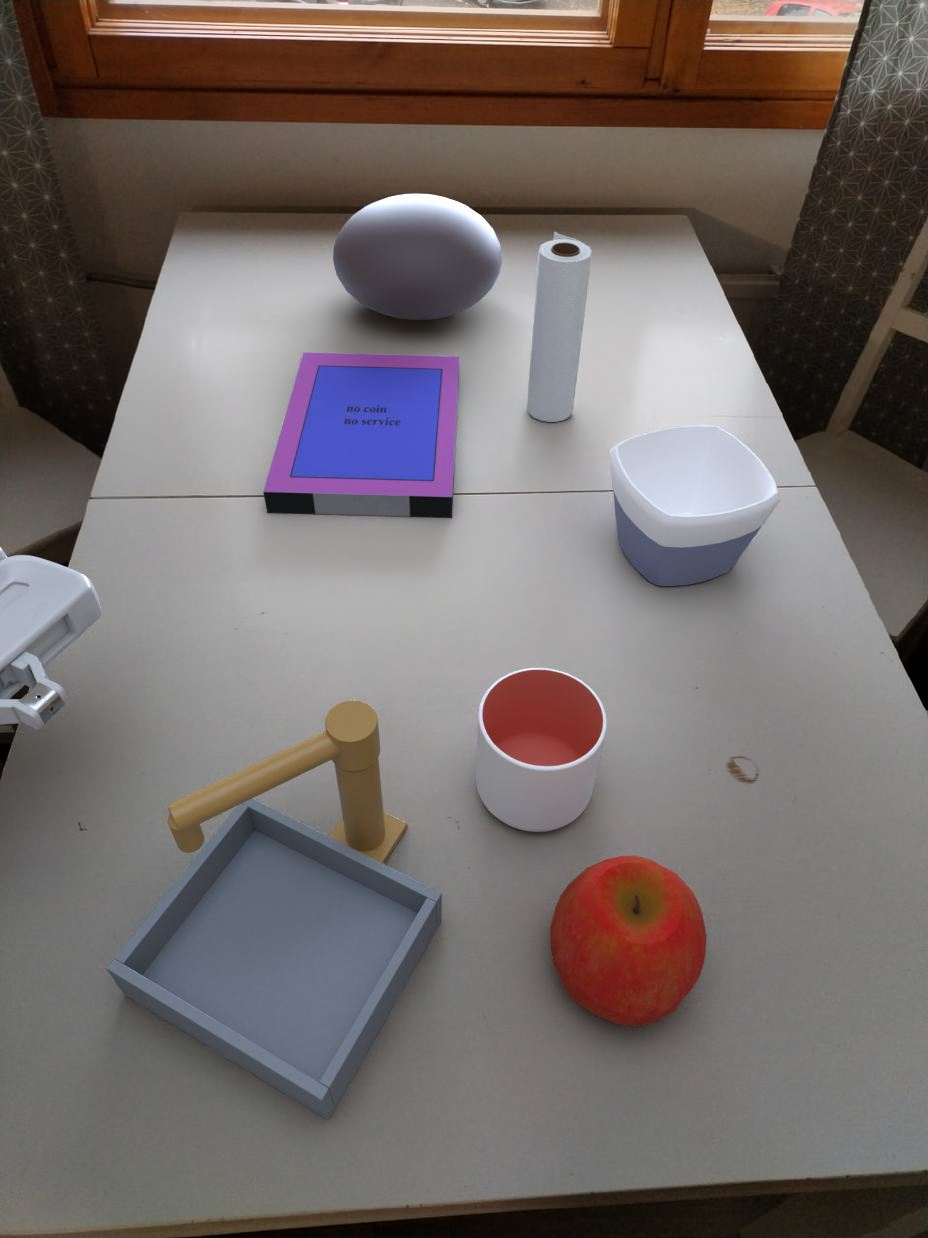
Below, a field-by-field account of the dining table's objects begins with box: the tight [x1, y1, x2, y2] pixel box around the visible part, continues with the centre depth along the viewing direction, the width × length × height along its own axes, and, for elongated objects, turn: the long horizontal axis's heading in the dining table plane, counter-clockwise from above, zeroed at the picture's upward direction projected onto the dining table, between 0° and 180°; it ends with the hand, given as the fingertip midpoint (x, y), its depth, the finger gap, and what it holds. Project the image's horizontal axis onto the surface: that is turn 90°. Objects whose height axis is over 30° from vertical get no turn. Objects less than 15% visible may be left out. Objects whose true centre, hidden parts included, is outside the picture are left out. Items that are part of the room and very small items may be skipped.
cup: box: [475, 667, 608, 833], centre depth 73 cm, size 10×10×10 cm
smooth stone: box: [332, 193, 503, 321], centre depth 130 cm, size 25×25×15 cm
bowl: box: [608, 424, 781, 587], centre depth 94 cm, size 15×15×11 cm
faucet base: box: [329, 757, 408, 865], centre depth 68 cm, size 5×5×12 cm
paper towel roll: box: [526, 231, 593, 423], centre depth 109 cm, size 7×6×21 cm
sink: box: [106, 798, 443, 1121], centre depth 64 cm, size 16×18×4 cm
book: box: [262, 351, 461, 519], centre depth 110 cm, size 21×3×30 cm
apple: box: [549, 855, 707, 1027], centre depth 62 cm, size 11×11×11 cm
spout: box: [166, 699, 381, 854], centre depth 61 cm, size 15×4×5 cm, turn 122°
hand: (52, 709), depth 61 cm, fingers closed
